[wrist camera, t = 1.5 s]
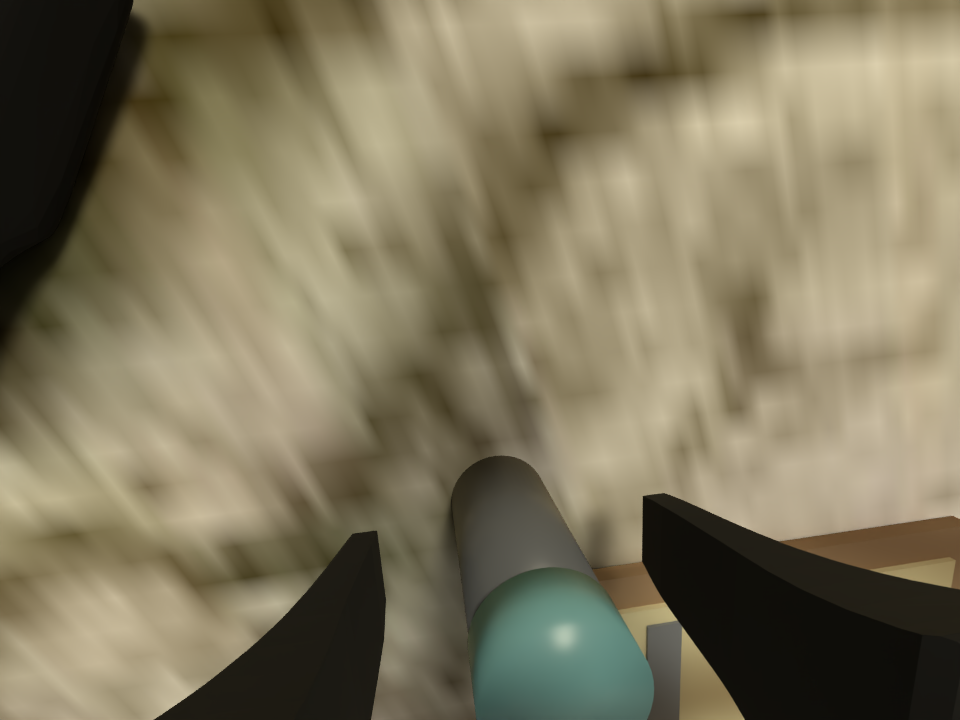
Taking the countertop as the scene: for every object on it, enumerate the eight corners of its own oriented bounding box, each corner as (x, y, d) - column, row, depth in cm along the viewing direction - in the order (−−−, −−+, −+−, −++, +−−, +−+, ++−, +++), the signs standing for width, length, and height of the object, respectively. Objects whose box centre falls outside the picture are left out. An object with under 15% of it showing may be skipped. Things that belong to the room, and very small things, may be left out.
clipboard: (910, 769, 20) (947, 806, 18) (546, 847, 18) (557, 895, 16) (952, 516, 17) (999, 537, 16) (533, 578, 15) (544, 608, 14)
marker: (547, 537, 15) (653, 760, 8) (453, 549, 15) (482, 795, 8) (544, 449, 14) (654, 612, 8) (446, 460, 14) (469, 643, 7)
